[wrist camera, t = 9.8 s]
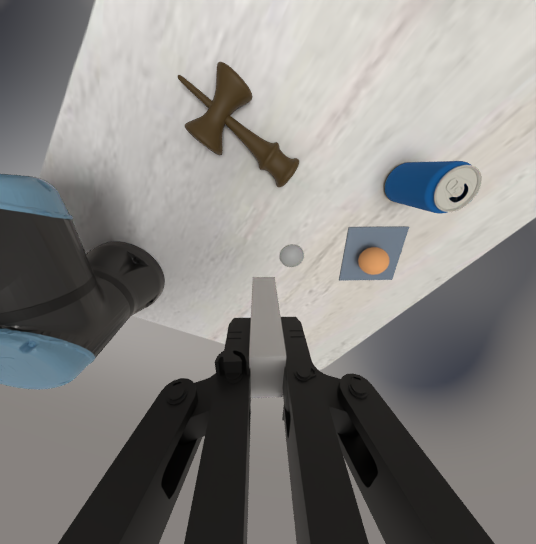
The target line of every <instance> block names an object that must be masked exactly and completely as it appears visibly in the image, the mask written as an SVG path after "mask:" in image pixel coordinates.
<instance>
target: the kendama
mask: <svg viewBox="0 0 536 544" xmlns="http://www.w3.org/2000/svg"><path fill="white" fill-rule="evenodd" d="M178 79H179V80H180V81H181V82H182V83H183V84H184V85H185V86H186V87H187V88H188V89H189V90H190V91H191V92H192V93H193V94H194V95H195V96H196V97H197V98H198V99H199V100H200V101H202V102H203V103H204V104H205V105H206V106H207V107H208V108H209V109H208V111H207V112H206V113H205V114H204V115H203V116H201V117H199V118H197V119H195V120H192V121H190V122H188V123H186V124H185V128H186V129H187V131H188V132H189V133H190V134H191V135H192V136H193V137H194V138H196V139H197V140H198V141H199V142H200V143H202V144H203V145H204V146H206V147H207V148H208V149H210V150H211V151H213V152H214V153H216V154H218V155H222V133H223V128H224V126H225V124H226V125H227V126H228V127H229V128H230V129H231V130H232V131H233V132H234V134H235V135H236V136H237V137H238V138H239V139H240V140H241V141H242V142H243V143H244V144H245V145H246V147H247V148H248V149H249V150H250V151H251V152H252V154H253V155H254V156H255V157H256V159H257V160H258V163H259V168H260V170H266V171H268V172H269V173H270V174H271V175H272V176H273V177H274V178H275V180H276V184H277V186H278V187H282V186H284V185H285V184H286V183H287V182H288V181H289V180H290V178H291V177H292V176H293V174H294V173H295V171H296V169H297V167H298V165H299V160H298V159H297V158H294V159H290V158H288V157H287V156H285V155H284V154H283V153H282V152H281V150H280V148H279V144H278V143H277V142H276V143H269V142H267V141H265V140H263V139H262V138H260V137H259V136H257V135H256V134H254V133H253V132H251V131H250V130H248V129H247V128H246V127H244V126H243V125H242V124H240V123H239V122H238V121H236V120H235V119H234V118H232V117H231V116H230V115H231V114H232V113H233V112H234V111H235V110H236V109H238V108H239V107H241V106H243V105H245V104H247V103H248V102H250V101H251V99H252V93H251V91H250V89H249V87H248V86H247V84H246V83H245V82H244V81H243V79H242V78H241V77H240V76H239V75H238V74H237V73H236V72H235V71H234V70H233V69H232V68H231V67H229V66H228V65H227V64H225V63H223V62H219V63H218V64H217V79H216V92H215V96H214V99H213V101H211V100H210V99H209V98H208V97H207V96H206V95H204V94H203V93H202V92H201V91H200V90H198V89H197V88H196V87H195V86H194V85H192V84H191V83H190V82H189V81H187V80H186V79H185V78H184V77H182V76H181V75H178Z"/></svg>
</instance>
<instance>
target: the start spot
mask: <svg viewBox="0 0 536 544" xmlns="http://www.w3.org/2000/svg"><path fill="white" fill-rule="evenodd" d="M303 258H304V253H303V250H302V249H301V248H300V247H299V246H297V245H288V246H286V247H284V248H283V249H282V251H281V253H280V260H281V262H282V263H283V264H284V265H285V266H287V267H295V266H297V265H299V264H300V263H301V262H302V260H303Z"/></svg>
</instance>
